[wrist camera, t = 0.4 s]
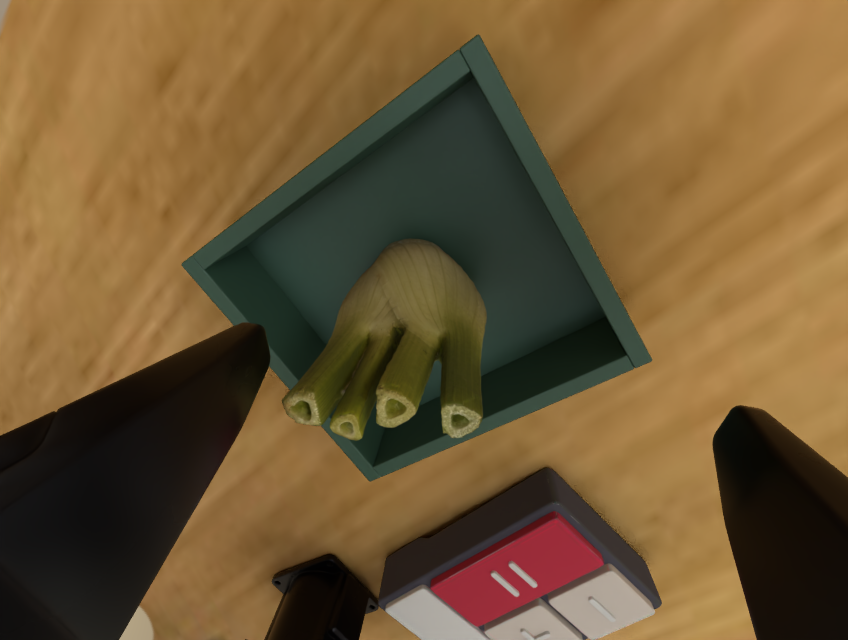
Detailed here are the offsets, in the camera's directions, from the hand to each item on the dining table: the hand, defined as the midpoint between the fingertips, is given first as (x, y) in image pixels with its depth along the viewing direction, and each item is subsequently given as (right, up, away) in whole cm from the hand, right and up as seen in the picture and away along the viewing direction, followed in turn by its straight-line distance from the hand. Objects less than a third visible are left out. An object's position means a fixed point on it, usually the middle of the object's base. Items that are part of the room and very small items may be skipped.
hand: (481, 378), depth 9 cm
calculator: (+5, -16, +24) cm, 29 cm away
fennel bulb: (-1, +3, +15) cm, 15 cm away
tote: (-1, +3, +15) cm, 15 cm away
